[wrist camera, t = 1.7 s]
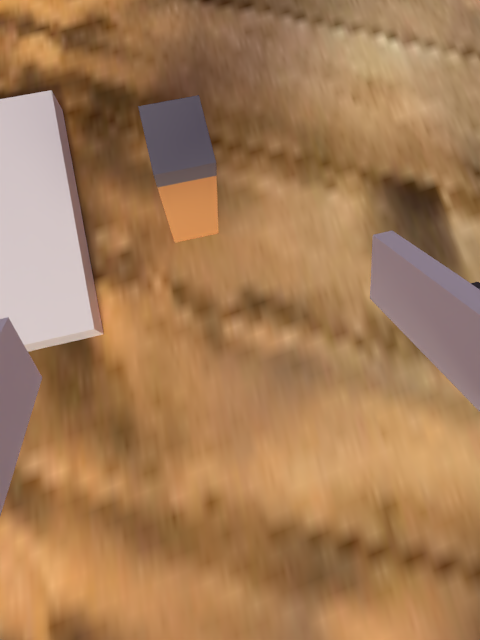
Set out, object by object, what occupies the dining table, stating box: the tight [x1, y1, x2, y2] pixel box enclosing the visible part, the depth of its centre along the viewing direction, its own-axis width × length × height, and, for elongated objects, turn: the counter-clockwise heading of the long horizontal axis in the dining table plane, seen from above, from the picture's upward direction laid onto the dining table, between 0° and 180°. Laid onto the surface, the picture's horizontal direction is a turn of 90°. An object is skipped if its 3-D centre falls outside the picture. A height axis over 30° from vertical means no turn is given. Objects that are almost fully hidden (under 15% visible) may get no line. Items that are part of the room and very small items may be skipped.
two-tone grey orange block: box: [138, 95, 218, 242], centre depth 31 cm, size 5×4×11 cm
